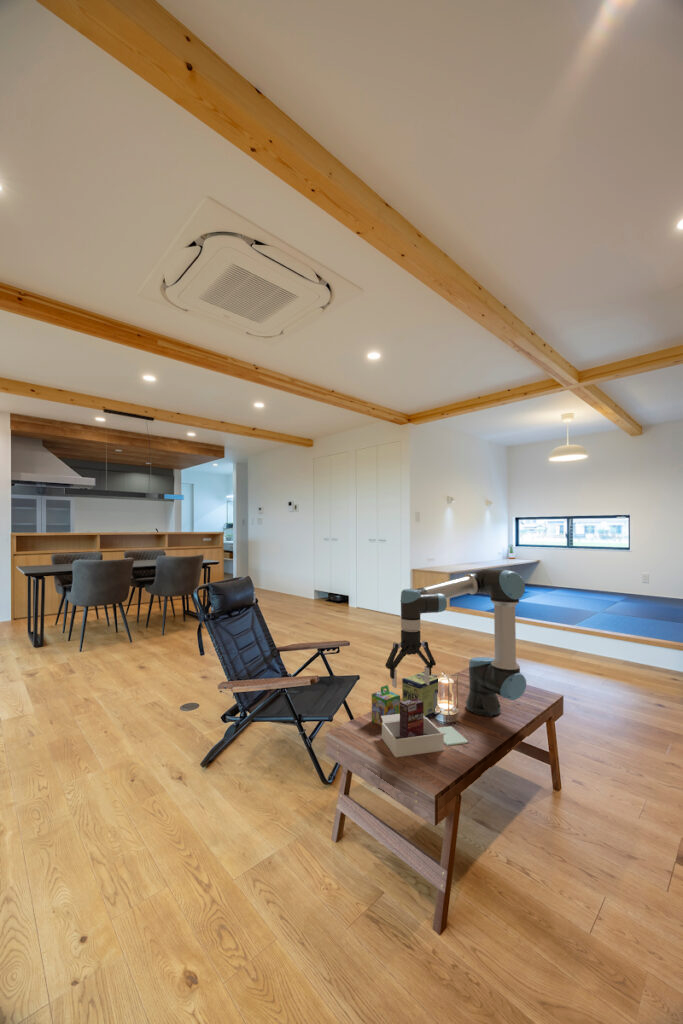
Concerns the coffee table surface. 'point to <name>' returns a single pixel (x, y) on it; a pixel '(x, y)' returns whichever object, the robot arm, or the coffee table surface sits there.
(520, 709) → the coffee table surface
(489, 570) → the robot arm
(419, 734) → the supplement box
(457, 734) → the felt pad
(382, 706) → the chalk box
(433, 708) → the protein box
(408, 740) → the carton
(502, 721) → the coffee table surface
